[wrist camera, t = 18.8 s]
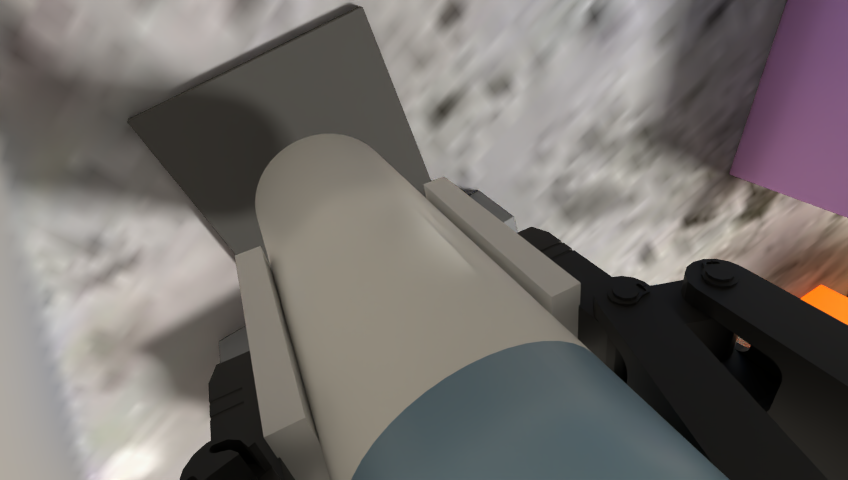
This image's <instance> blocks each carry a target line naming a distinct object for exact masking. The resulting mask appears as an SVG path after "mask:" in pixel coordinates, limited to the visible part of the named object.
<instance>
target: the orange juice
mask: <svg viewBox="0 0 848 480" xmlns="http://www.w3.org/2000/svg"><path fill="white" fill-rule="evenodd" d="M800 299H801V300H803V301H805V302H807V303H809V304H810V305H812V306H814V307H816V308H818V309H820V310H821V311H823V312H825V313H827V314H829V315H831V316H832V317H834V318H836V319H838V320H840V321H841V322H843V323H845V324H847V325H848V297H846V296H844V295H841V294H839V293H837V292H835V291H833V290H831V289H829V288H827V287H825V286H823V285H820V286H818V287H817V288H815V289H814V290H812V291H811V292H809V293H808V294H806V295H805V296H803V297H802V298H800Z"/></svg>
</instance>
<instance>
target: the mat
mask: <svg viewBox="0 0 848 480" xmlns="http://www.w3.org/2000/svg"><path fill="white" fill-rule="evenodd" d="M127 122H128V123H129V125H130V126H131V127H132V128H133V130H134V131H135V132H136V133H137V134H138V136H139V137H140V138H141V139H142V141H143V142H144V143H145V144H146V145H147V147H148V148H149V149H150V150H151V152H152V153H153V154H154V155H155V156H156V158H157V159H158V160H159V161H160V163H161V164H162V165H163V166H164V168H165V169H166V170H167V171H168V172H169V174H170V175H171V176H172V177H173V179H174V180H175V181H176V182H177V183H178V185H179V186H180V187H181V188H182V190H183V191H184V192H185V193H186V194H187V196H188V197H189V198H190V199H191V201H192V202H193V203H194V204H195V206H196V207H197V208H198V209H199V210H200V212H201V213H202V214H203V215H204V217H205V218H206V219H207V220H208V221H209V223H210V224H211V225H212V226H213V228H214V229H215V230H216V231H217V232H218V234H219V235H220V236H221V237H222V239H223V240H224V241H225V242H226V243H227V245H228V246H229V247H230V248H231V250H232V251H233V252H234V253H235V255H238V254H240V253H243V252H246V251H248V250H251V249H254V248H256V247H259V246H261V248H262V250H263V252H264V255H265V257H266V259H267V261H268V263H269V265H270V262H269V259H268V255H267V251H266V248H265V244H264V241H263V237H262V234H261V230H260V226H259V223H258V219H257V215H256V208H255V197H256V190H257V186H258V183H259V180H260V178H261V175H262V174H263V172H264V170H265V168H266V167H267V165H268V164H269V163H270V161H271V160H272V159H273V158H274V157H275V156H276V155H277V154H278V153H279V152H280V151H282V150H283V149H284V148H285V147H287V146H289V145H290V144H292V143H294V142H296V141H298V140H300V139H303V138H306V137H309V136H313V135H318V134H341V135H345V136H349V137H353V138H355V139H358V140H360V141H362V142H363V143H365V144H367V145H368V146H369V147H371V148H372V149H373V150H374V151H376V152H377V153H378V154H379V155H380V156H381V157H382V158H383V159H384V160H385V161H386V162H387V163H388V164H390V165H391V166H392V167H393V168H394V169H395V170H396V171H397V172H398V173H399V174H400V175H401V176H402V177H404V178H405V179H406V180H407V181H408V182H409V183H410V184H411V185H412V186H413V187H414V188H415V189H417V190H418V191H419V192H420V193H421V194H422V195H423V196H424V197H425V198H426V194H425V189H424V184H425V183H428V182H431V180H430V177H429V174H428V172H427V169H426V167H425V164H424V162H423V159H422V157H421V154H420V152H419V149H418V147H417V144H416V141H415V139H414V136H413V134H412V131H411V129H410V126H409V124H408V121H407V119H406V116H405V114H404V111H403V108H402V106H401V103H400V101H399V98H398V96H397V93H396V91H395V88H394V86H393V83H392V81H391V78H390V75H389V73H388V70H387V68H386V65H385V63H384V60H383V58H382V55H381V53H380V50H379V48H378V45H377V42H376V40H375V37H374V35H373V32H372V30H371V27H370V25H369V22H368V20H367V17H366V15H365V12H364V9H363V7H360V6H359V7H357V8H355V9H353V10H351V11H349V12H347V13H345V14H343V15H341V16H339V17H337V18H335V19H333V20H331V21H329V22H327V23H325V24H322V25H320V26H318V27H316V28H314V29H312V30H310V31H308V32H306V33H304V34H302V35H300V36H298V37H296V38H294V39H292V40H290V41H288V42H286V43H284V44H282V45H279V46H277V47H275V48H273V49H271V50H269V51H267V52H265V53H263V54H261V55H259V56H257V57H255V58H253V59H251V60H249V61H247V62H245V63H243V64H241V65H238V66H236V67H234V68H232V69H230V70H228V71H226V72H224V73H222V74H220V75H218V76H216V77H214V78H212V79H210V80H208V81H206V82H204V83H202V84H200V85H198V86H195V87H193V88H191V89H189V90H187V91H185V92H183V93H181V94H179V95H177V96H175V97H173V98H171V99H169V100H167V101H165V102H163V103H161V104H159V105H157V106H155V107H152V108H150V109H148V110H146V111H144V112H142V113H140V114H138V115H136V116H134V117H132V118H130V119H128V121H127ZM270 267H271V266H270Z"/></svg>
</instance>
